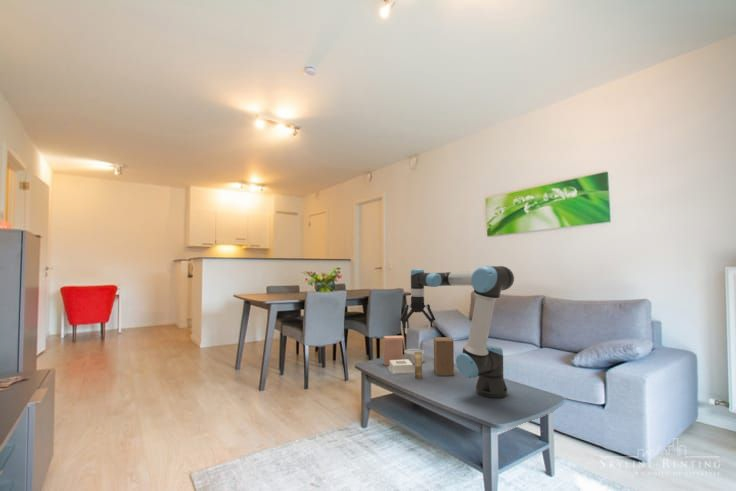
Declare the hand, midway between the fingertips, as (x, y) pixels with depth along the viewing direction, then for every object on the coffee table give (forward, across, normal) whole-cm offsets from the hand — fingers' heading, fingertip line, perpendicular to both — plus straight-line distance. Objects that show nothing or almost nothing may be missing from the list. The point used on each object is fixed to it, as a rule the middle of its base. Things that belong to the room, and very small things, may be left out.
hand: (417, 333), depth 205 cm
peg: (+25, 0, 0) cm, 25 cm away
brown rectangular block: (+25, +9, -25) cm, 37 cm away
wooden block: (+25, -17, -6) cm, 31 cm away
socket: (+25, +7, -14) cm, 29 cm away
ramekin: (+25, -6, -32) cm, 41 cm away
